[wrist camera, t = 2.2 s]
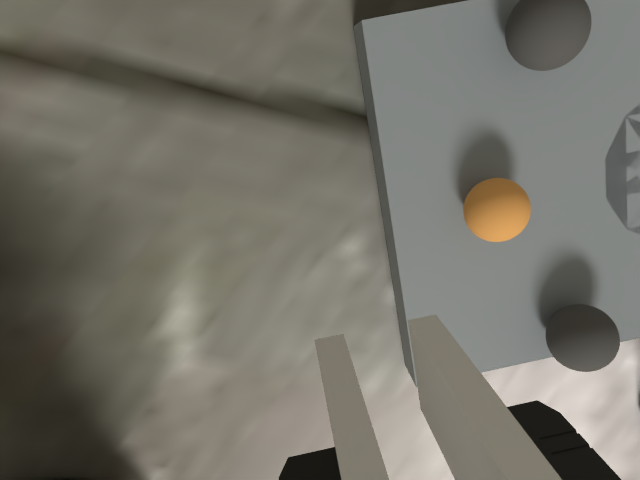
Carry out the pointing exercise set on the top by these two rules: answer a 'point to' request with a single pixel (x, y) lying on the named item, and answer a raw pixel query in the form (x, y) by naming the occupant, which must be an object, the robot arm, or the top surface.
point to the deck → (505, 173)
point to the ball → (497, 209)
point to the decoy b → (582, 337)
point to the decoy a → (547, 32)
